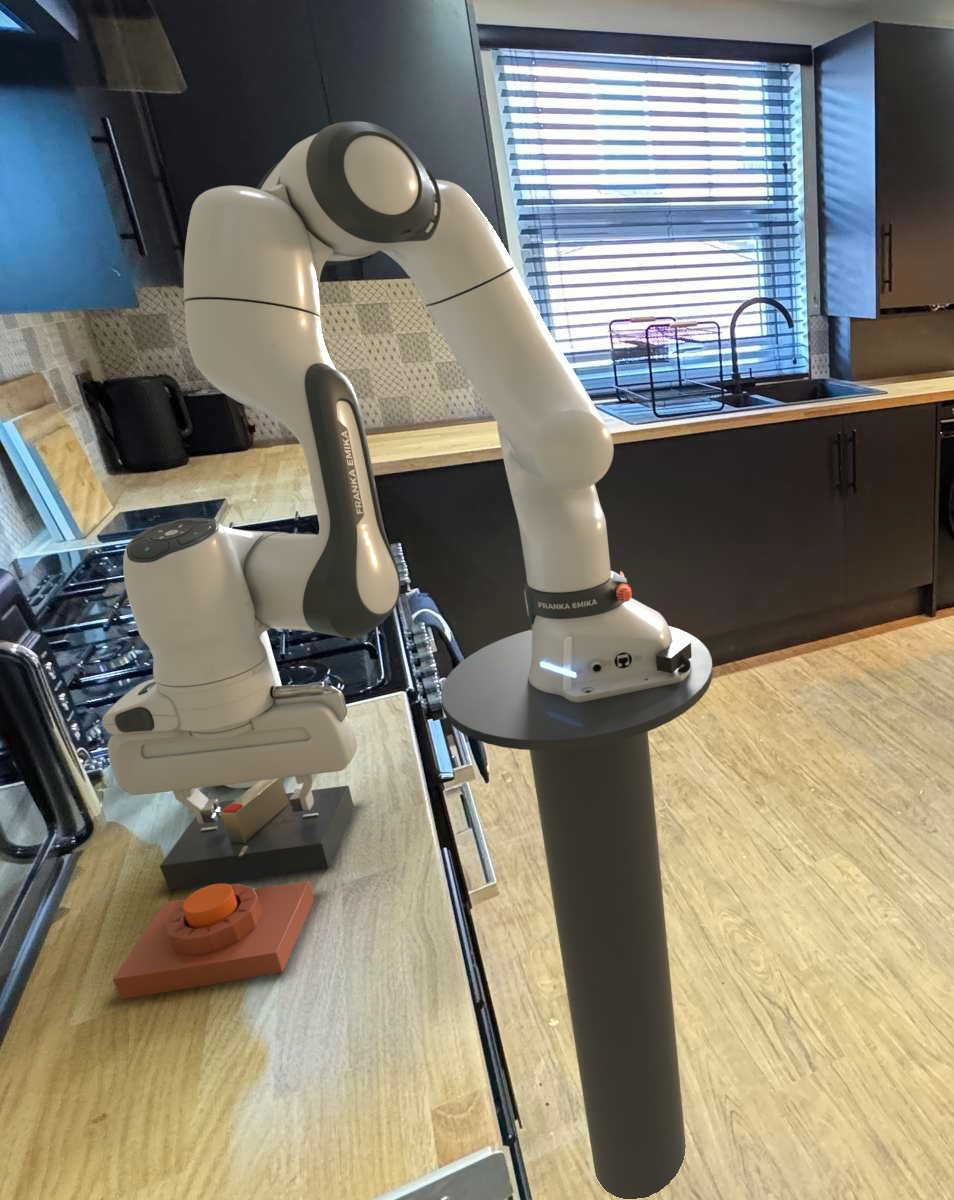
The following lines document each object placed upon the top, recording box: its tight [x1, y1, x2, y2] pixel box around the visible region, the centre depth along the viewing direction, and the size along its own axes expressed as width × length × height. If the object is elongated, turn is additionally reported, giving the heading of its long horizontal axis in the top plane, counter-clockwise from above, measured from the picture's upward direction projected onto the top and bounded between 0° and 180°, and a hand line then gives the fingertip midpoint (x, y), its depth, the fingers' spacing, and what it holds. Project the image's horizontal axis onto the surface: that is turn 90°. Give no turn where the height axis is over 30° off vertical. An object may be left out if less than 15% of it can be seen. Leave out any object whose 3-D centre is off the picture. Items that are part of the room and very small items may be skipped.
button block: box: [112, 880, 315, 1000], centre depth 73 cm, size 12×9×4 cm
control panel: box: [159, 785, 355, 892], centre depth 86 cm, size 14×11×3 cm
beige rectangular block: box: [221, 778, 289, 843], centre depth 84 cm, size 6×2×4 cm, turn 174°
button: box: [183, 883, 238, 929], centre depth 72 cm, size 4×4×2 cm
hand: (258, 813), depth 85 cm, fingers open, 7 cm apart
